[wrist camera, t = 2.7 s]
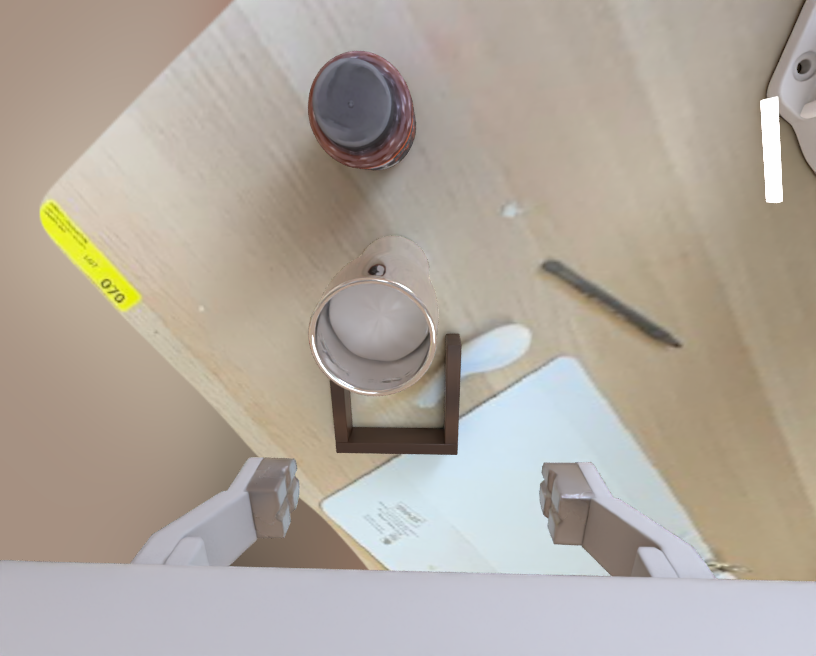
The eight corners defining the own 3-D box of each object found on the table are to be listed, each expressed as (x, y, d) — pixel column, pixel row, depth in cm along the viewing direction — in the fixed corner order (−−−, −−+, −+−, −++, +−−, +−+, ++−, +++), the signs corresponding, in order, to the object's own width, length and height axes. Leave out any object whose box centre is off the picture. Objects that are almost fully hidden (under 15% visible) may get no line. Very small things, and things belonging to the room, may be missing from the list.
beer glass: (344, 296, 36) (291, 378, 22) (365, 218, 33) (321, 253, 19) (419, 320, 36) (416, 415, 22) (446, 244, 34) (461, 298, 20)
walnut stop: (332, 333, 37) (326, 344, 35) (459, 333, 36) (461, 345, 34) (341, 436, 41) (336, 453, 39) (455, 438, 41) (457, 455, 38)
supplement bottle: (413, 173, 32) (406, 174, 21) (336, 167, 32) (292, 166, 21) (419, 85, 30) (415, 38, 19) (337, 78, 30) (289, 28, 19)
